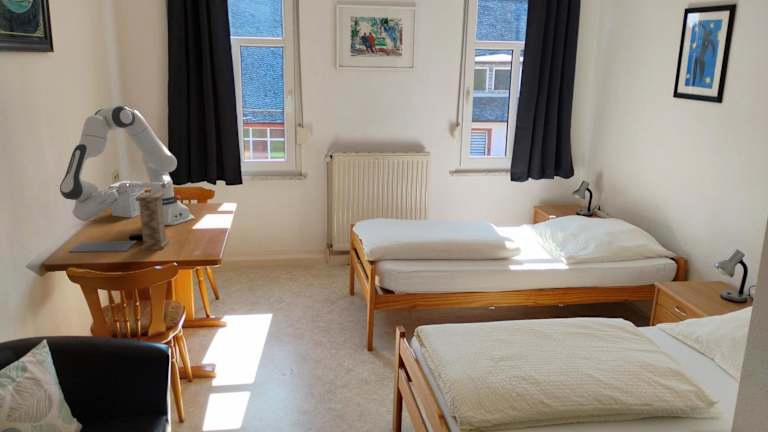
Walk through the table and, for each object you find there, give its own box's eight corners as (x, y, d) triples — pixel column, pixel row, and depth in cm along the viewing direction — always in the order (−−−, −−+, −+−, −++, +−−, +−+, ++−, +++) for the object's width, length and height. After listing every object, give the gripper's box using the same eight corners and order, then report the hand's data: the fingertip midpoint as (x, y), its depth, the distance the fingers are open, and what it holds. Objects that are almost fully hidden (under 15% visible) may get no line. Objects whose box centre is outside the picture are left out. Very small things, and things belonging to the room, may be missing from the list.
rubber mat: (69, 252, 282) (69, 251, 282) (81, 242, 296) (81, 241, 295) (126, 251, 284) (126, 250, 284) (136, 241, 297) (136, 240, 297)
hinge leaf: (119, 188, 281) (118, 183, 280) (122, 186, 284) (121, 181, 284) (166, 187, 282) (165, 183, 281) (168, 185, 286) (168, 181, 285)
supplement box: (147, 211, 351) (143, 181, 346) (132, 217, 338) (128, 187, 334) (127, 210, 354) (123, 180, 349) (111, 216, 342) (108, 185, 337)
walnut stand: (141, 249, 286) (135, 197, 279) (147, 242, 296) (142, 192, 289) (163, 249, 287) (157, 197, 280) (169, 242, 296) (164, 192, 289)
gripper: (92, 199, 273) (118, 183, 272) (109, 188, 292) (133, 174, 291) (101, 210, 274) (127, 195, 273) (117, 199, 294) (141, 185, 293)
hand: (130, 184), depth 282 cm, fingers closed on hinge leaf, 4 cm apart
